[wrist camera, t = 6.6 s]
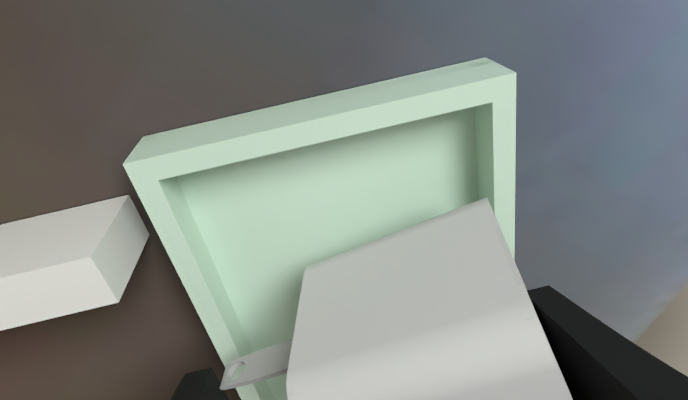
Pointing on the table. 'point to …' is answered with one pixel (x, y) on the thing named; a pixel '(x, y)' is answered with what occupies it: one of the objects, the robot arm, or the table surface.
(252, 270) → the tray
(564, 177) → the table surface
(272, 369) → the usb wall charger
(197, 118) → the table surface
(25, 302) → the bay
